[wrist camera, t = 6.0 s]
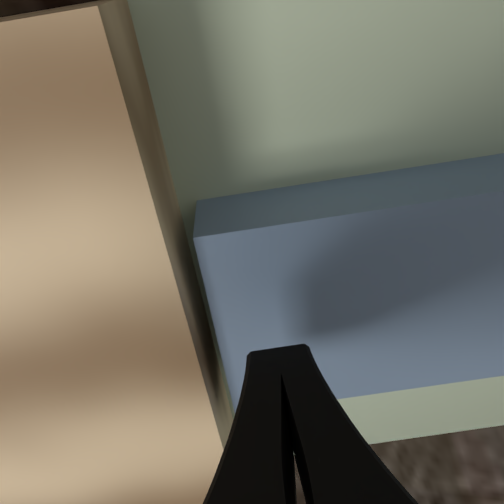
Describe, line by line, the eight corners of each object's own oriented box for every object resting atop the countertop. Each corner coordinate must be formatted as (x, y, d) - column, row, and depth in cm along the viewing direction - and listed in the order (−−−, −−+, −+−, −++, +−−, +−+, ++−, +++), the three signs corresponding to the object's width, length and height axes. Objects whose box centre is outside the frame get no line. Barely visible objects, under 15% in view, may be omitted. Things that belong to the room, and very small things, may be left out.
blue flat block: (507, 325, 15) (543, 369, 14) (233, 364, 16) (234, 414, 14) (540, 147, 12) (592, 177, 10) (196, 200, 12) (192, 237, 11)
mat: (551, 411, 18) (557, 417, 18) (243, 455, 18) (243, 462, 18) (694, -102, 10) (707, -104, 10) (128, -5, 10) (126, -4, 10)
